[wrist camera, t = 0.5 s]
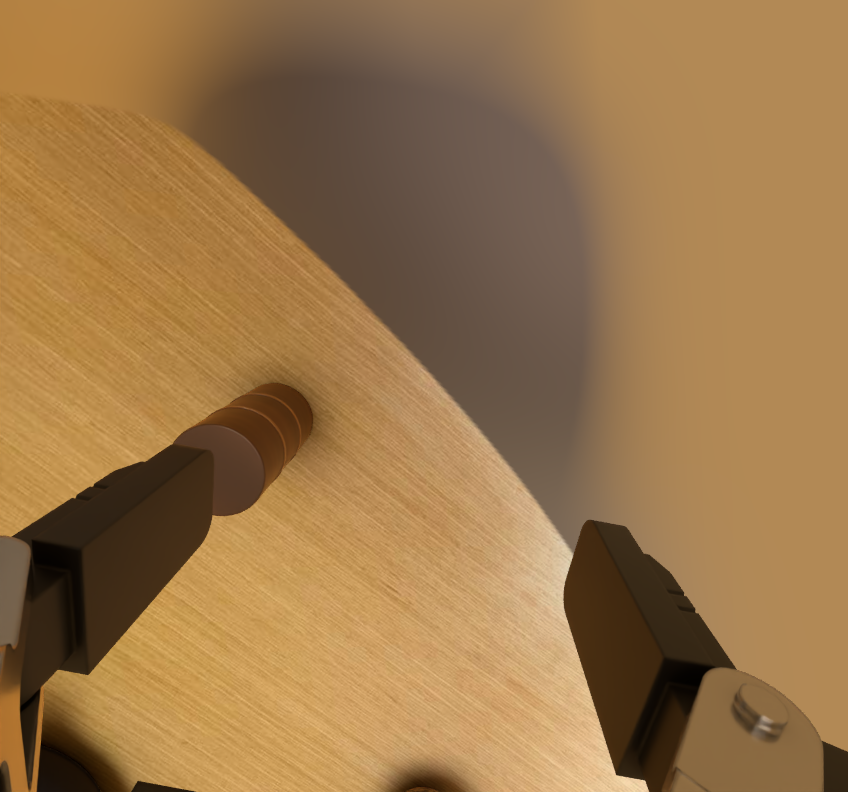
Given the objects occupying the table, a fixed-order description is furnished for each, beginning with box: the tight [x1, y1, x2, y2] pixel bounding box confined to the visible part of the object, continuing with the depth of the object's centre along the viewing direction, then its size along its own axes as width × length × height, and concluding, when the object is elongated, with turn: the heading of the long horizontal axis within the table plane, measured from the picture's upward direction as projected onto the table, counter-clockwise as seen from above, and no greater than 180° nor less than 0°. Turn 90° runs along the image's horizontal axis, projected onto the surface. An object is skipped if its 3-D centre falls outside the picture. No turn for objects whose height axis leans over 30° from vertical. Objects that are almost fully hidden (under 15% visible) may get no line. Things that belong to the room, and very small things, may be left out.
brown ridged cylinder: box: [173, 383, 313, 516], centre depth 25 cm, size 4×4×8 cm
